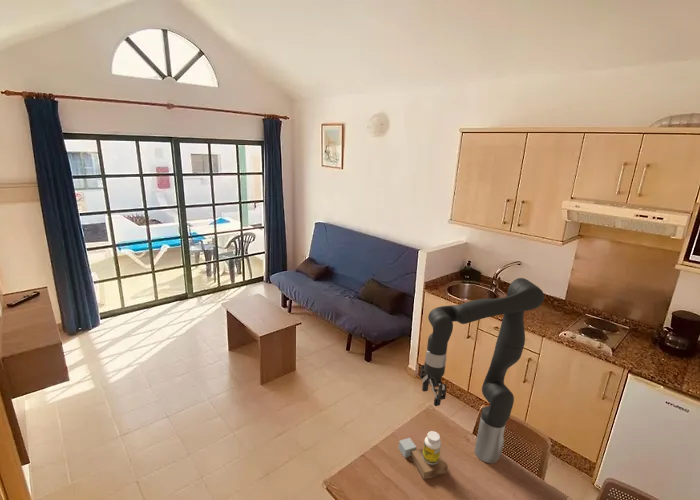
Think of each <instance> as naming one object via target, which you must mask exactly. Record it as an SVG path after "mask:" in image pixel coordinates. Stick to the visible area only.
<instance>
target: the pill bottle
mask: <svg viewBox="0 0 700 500" xmlns="http://www.w3.org/2000/svg"><path fill="white" fill-rule="evenodd" d="M441 447H442V442H441V436H440V434H439V432H436V431H434V430H431V431H428V432H427V435H426V437H425V438H424V441H423V448H422V449H423V459H424V461H425V462H426V463H428V464H431V465H434V464H436V463H437V462H438V460H439V455H440V456H441V454H440V453H441Z"/></svg>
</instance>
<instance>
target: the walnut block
mask: <svg viewBox="0 0 700 500" xmlns="http://www.w3.org/2000/svg"><path fill="white" fill-rule="evenodd" d="M410 459H411V461H412V462H413V465H414V466H415V468H416V469H417V472H418V474H419V475H420V477H421V479H422V480H429V479H432V478H435V477H438V476H439V477H441V476H443V475H446V474H448V465H447V464H446V462H445V460H444V459H443V457H442V456H441V454H440V455H439V460H438V462H437V463H436V464H434V465H431V464H428V463H426V462H425V461H424V459H423V448H421V449H419V448H418V449H416V450H415V451H412V453H411V456H410Z"/></svg>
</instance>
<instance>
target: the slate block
mask: <svg viewBox="0 0 700 500" xmlns="http://www.w3.org/2000/svg"><path fill="white" fill-rule="evenodd" d="M398 450H399V451H400V453H401V454H402V457H403V458H404V459H406V458H408V457H411V453H412V451H415V450H417V445H416V443H414V441H413V440H412V439H411V437H408V438H403V439H401V440H399V441H398Z"/></svg>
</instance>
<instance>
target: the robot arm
mask: <svg viewBox="0 0 700 500" xmlns="http://www.w3.org/2000/svg"><path fill="white" fill-rule="evenodd" d="M544 300H545V294H544V291H543V290H542V289H541V288H540V287H539V286H538V285H536V284H535V283H533V282H531V281H530V280H529V279H527V278H525V277H524V278H523V277H518V278H515V279H514V280H513V281H512V282H511V283H510V284H509V286H508V288H507V293H506V296H504V297H499V298H479V299H474V300H470V301H466V302H464V303H463V302H462V303H460V304H453V305H452V304H451V305H444V306H443V305H442V306H438V307H434V308H433V309H432V310H430V312H429V313H428V317H427V318H428V321H429V323H430V325H431V327H432V333H430V334H429V336H428V339H427V340H428V341H427V345H426V346H427V347H426V351H425V357H424V364H421V365H420V373H419V378H420V379H421V382H422V388H421V391H422V392H424V393H425V392H428V391H429V385H430V387H431V389H432V392H433V394H434V400H433V406H435V407H438V406H440V405H441V401H442V400H445V399H446V398H447V397H446V395H447V384H446V383H442V378H443V376H444V375H445V371H446V364H447V351H448V343H449V341H450V338H451V336H452V333H453V331H454V322H456V323H459V324H461V325H466V324H470V323H473V322H476V321H480V320H482V319H486V318H490V317H495V316H500V315H501V316H502V315H503V317H502V320H501V326H500V329H499V332H498V335H497V339H496V342H495V347H494V350H493V351H494V352H493V355H492V358H491V361H490V364H489V367H488V371H487V373H486V374H485V378H484V380H483V382H482V387H481V393H482V395H483V397H484V398H485V400H486V401H487V402H488V403H489V405H488V406H485V407H483V408H482V409H481V414H480V419H479V424H478V431H477V435H476V441H475V447H474V453H475V456H476V457H477V458H478V459H479V460H480V461H482V462H484V463H486V464H495V463H497V462H498V460H500V458H501V457H502V452H503V449H504V443H505V437H504V433H505V429H506V424H507V422H508V420H509V419H510V417H511V413H512V411H513V407H514V406H513V405H514V401H515V396H514V393H513V392H512V391H511V390H510V389H509V388H508V386H507V385H506V384H505V376H506V373H507V371H508V370H509V368H511V367H512V366H514V365H516V363H517V362H519V360H520V359H521V358H522V357H521V356H522V354H523V350H524V348H525V347H524V346H525V343H526V331H525V323H524V319H525V312H527V311H533V310H535V309H538V308H539V307H540V306H542V304H543V303H544Z"/></svg>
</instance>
